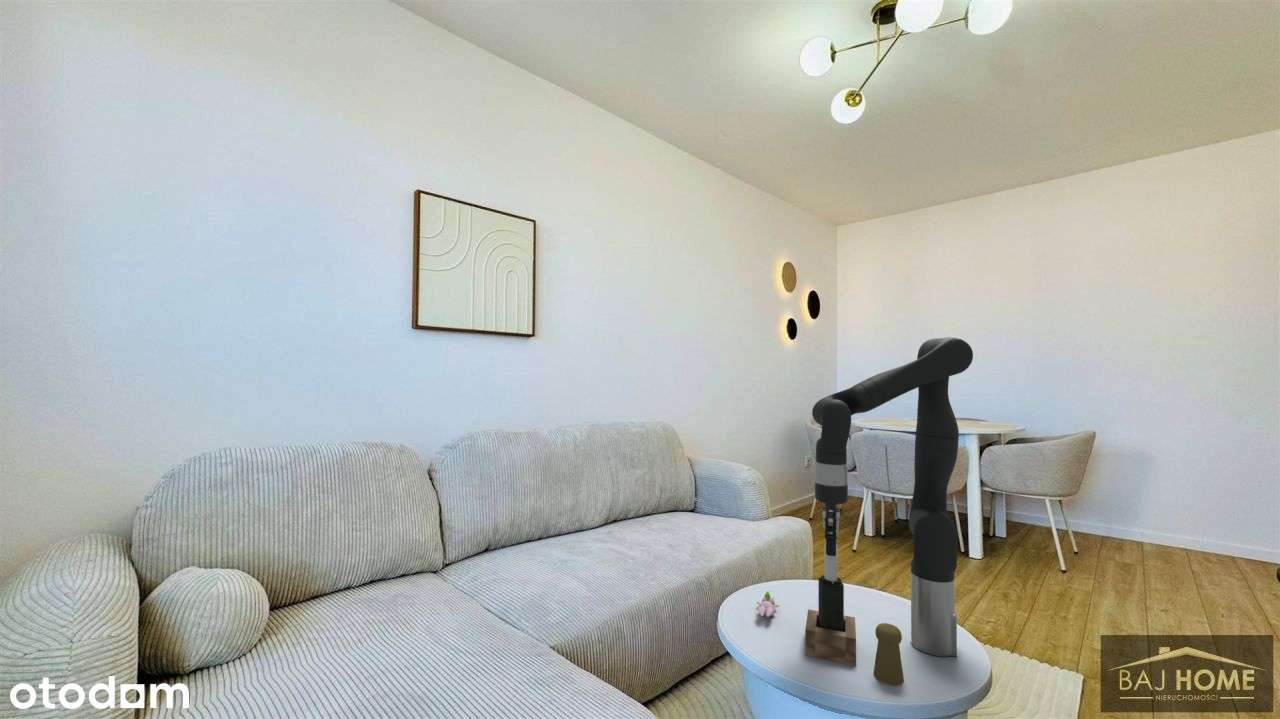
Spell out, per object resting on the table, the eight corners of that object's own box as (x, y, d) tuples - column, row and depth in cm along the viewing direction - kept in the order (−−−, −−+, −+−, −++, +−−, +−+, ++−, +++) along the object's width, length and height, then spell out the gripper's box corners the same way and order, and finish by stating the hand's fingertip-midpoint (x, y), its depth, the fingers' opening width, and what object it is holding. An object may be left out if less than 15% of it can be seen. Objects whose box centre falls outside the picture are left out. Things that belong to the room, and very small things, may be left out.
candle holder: (855, 642, 126) (854, 617, 126) (856, 665, 116) (856, 638, 116) (808, 633, 130) (808, 609, 130) (805, 655, 120) (805, 629, 120)
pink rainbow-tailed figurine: (757, 606, 148) (752, 621, 134) (758, 584, 149) (752, 597, 135) (780, 609, 146) (777, 625, 132) (780, 587, 147) (777, 600, 133)
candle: (838, 630, 125) (838, 527, 126) (845, 641, 120) (844, 534, 121) (817, 628, 126) (817, 526, 126) (822, 639, 120) (822, 533, 121)
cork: (868, 669, 114) (867, 619, 114) (893, 668, 115) (893, 619, 115) (883, 686, 108) (882, 633, 108) (910, 685, 108) (910, 632, 109)
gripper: (848, 488, 116) (848, 565, 115) (847, 477, 129) (847, 546, 128) (813, 485, 119) (813, 560, 118) (816, 474, 132) (816, 542, 131)
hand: (831, 552), depth 123 cm, fingers closed on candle, 3 cm apart
